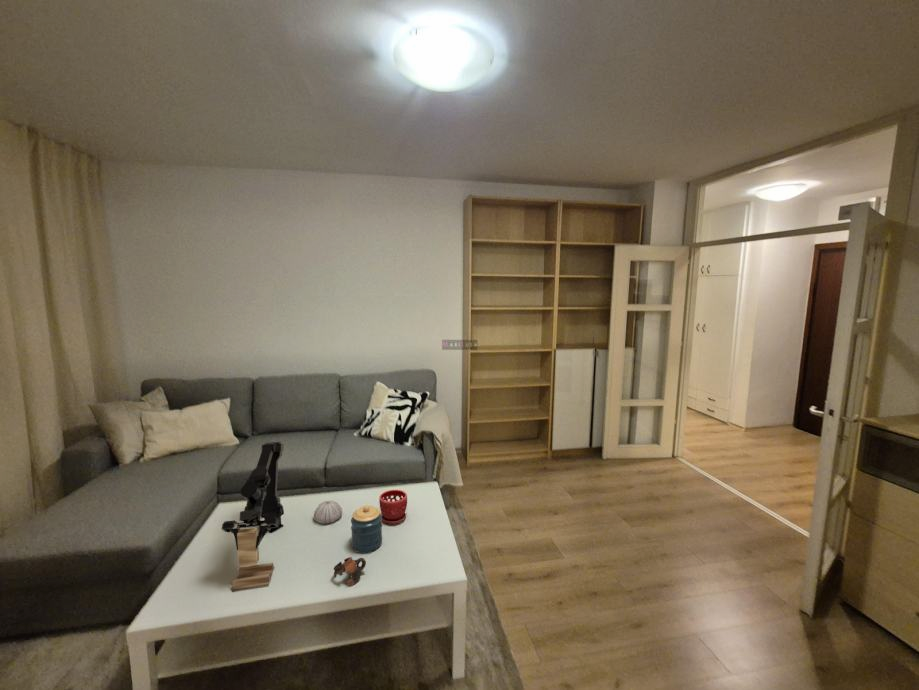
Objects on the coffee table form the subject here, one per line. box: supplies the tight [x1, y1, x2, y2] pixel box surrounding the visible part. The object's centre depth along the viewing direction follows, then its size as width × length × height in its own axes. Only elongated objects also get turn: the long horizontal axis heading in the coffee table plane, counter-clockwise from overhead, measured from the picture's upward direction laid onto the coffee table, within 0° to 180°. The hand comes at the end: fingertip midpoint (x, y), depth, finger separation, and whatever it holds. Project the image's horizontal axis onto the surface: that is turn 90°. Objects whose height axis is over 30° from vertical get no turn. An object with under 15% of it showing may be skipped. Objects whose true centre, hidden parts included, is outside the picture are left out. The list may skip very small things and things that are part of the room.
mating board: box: [232, 562, 275, 593], centre depth 149 cm, size 10×12×3 cm
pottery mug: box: [333, 556, 367, 587], centre depth 151 cm, size 12×10×8 cm
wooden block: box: [237, 527, 260, 568], centre depth 147 cm, size 3×6×13 cm, turn 102°
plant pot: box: [378, 489, 408, 525], centre depth 189 cm, size 13×13×12 cm
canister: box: [350, 504, 383, 554], centre depth 170 cm, size 13×13×18 cm
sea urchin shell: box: [312, 500, 343, 524], centre depth 190 cm, size 13×14×8 cm
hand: (247, 549), depth 146 cm, fingers closed on wooden block, 6 cm apart
